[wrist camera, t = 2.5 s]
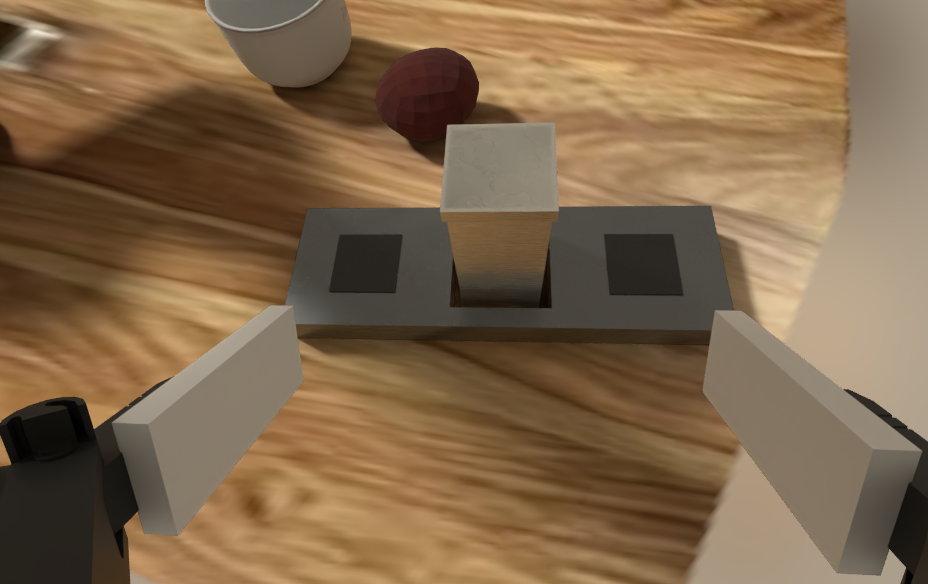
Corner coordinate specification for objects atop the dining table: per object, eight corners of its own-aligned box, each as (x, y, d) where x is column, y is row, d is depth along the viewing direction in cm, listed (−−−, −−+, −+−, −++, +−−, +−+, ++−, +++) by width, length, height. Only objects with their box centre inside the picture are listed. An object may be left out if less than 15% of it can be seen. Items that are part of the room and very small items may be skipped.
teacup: (384, 60, 45) (361, -29, 38) (291, 125, 42) (247, 42, 35) (299, 1, 50) (265, -87, 43) (210, 56, 47) (158, -29, 40)
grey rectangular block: (460, 316, 33) (440, 212, 22) (464, 248, 35) (447, 124, 24) (540, 317, 32) (559, 211, 22) (539, 248, 35) (554, 122, 24)
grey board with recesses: (295, 337, 33) (280, 323, 31) (319, 227, 37) (306, 207, 35) (721, 345, 31) (739, 329, 28) (697, 226, 35) (711, 204, 32)
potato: (483, 154, 39) (480, 94, 34) (382, 162, 40) (364, 104, 34) (479, 90, 42) (475, 26, 37) (386, 98, 43) (369, 36, 37)
